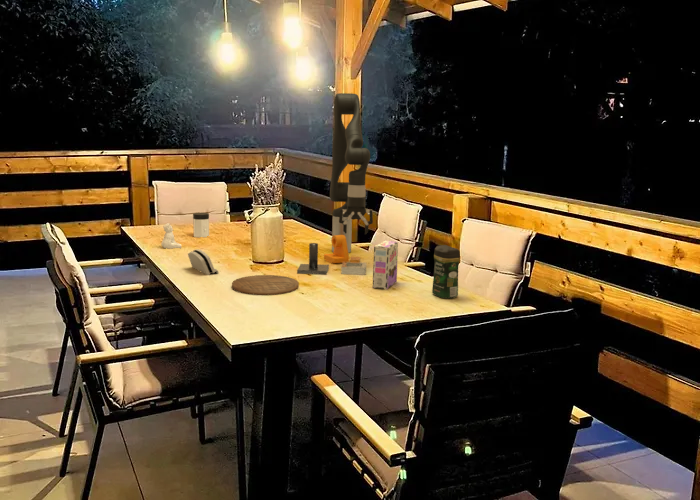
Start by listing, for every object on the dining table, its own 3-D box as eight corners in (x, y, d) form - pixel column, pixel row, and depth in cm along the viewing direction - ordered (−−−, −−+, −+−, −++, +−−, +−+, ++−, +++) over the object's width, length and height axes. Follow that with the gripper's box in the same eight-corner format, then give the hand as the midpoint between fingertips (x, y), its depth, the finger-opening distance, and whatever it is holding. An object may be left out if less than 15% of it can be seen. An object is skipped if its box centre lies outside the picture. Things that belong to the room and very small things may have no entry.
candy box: (386, 290, 254) (388, 247, 251) (372, 288, 256) (373, 245, 253) (397, 282, 267) (398, 241, 264) (383, 280, 269) (384, 239, 266)
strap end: (343, 265, 295) (344, 256, 294) (366, 265, 295) (367, 257, 294) (341, 274, 278) (341, 264, 278) (365, 274, 278) (365, 265, 277)
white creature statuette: (182, 248, 323) (182, 223, 321) (165, 250, 318) (164, 225, 316) (175, 245, 331) (175, 221, 329) (158, 246, 326) (157, 222, 324)
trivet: (225, 282, 262) (225, 277, 261) (286, 277, 271) (286, 273, 271) (241, 298, 239) (241, 293, 239) (308, 293, 249) (308, 288, 249)
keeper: (300, 267, 289) (301, 240, 287) (328, 268, 288) (329, 241, 286) (297, 273, 277) (297, 246, 275) (326, 274, 277) (326, 247, 274)
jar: (198, 238, 351) (197, 215, 348) (189, 236, 356) (189, 213, 354) (213, 236, 357) (212, 213, 355) (204, 234, 363) (204, 212, 360)
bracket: (323, 260, 305) (323, 233, 303) (337, 258, 308) (337, 232, 306) (334, 264, 296) (334, 237, 293) (348, 263, 299) (349, 236, 297)
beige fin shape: (219, 274, 274) (211, 252, 270) (209, 279, 271) (200, 256, 268) (203, 266, 287) (195, 244, 283) (193, 270, 285) (185, 249, 281)
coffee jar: (428, 293, 251) (430, 244, 247) (446, 291, 254) (448, 243, 250) (443, 300, 242) (445, 249, 238) (461, 298, 246) (464, 247, 242)
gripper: (373, 195, 289) (372, 232, 292) (340, 194, 289) (339, 231, 293) (373, 197, 281) (372, 235, 284) (339, 196, 282) (338, 234, 285)
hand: (355, 233), depth 288 cm, fingers open, 8 cm apart
